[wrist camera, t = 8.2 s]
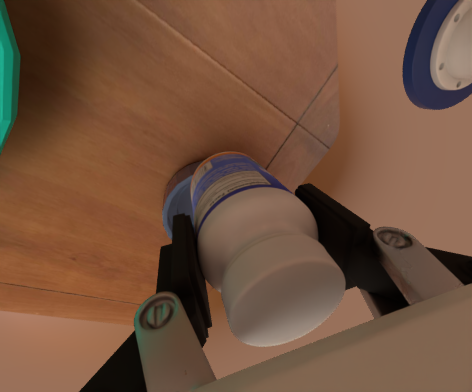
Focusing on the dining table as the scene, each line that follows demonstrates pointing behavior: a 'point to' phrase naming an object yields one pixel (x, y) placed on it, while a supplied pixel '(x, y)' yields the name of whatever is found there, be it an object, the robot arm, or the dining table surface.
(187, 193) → the bowl
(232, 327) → the pill bottle
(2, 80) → the table top decor
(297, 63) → the dining table surface
